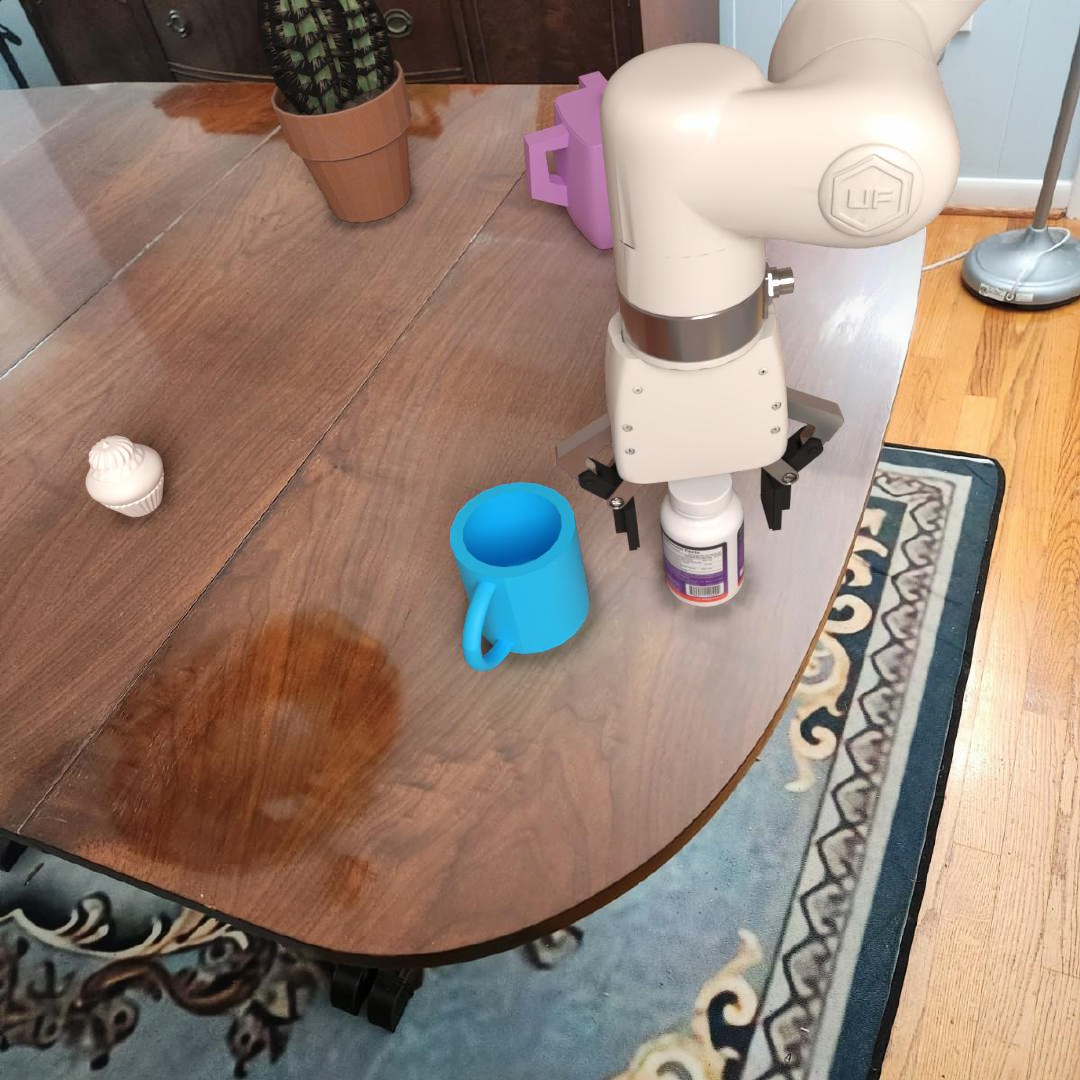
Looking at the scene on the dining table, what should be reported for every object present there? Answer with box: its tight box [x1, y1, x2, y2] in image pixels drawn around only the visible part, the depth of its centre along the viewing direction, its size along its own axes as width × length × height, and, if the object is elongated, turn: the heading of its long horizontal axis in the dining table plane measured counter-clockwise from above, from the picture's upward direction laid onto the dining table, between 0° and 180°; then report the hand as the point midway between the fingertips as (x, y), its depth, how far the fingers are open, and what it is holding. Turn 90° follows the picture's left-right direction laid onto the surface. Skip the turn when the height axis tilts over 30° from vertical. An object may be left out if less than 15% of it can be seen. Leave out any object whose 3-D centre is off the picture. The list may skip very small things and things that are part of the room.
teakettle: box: [522, 70, 614, 251], centre depth 98 cm, size 17×17×12 cm
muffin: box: [85, 434, 165, 518], centre depth 81 cm, size 6×6×7 cm
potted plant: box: [256, 0, 413, 224], centre depth 102 cm, size 14×14×25 cm
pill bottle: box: [659, 473, 745, 608], centre depth 66 cm, size 5×5×10 cm
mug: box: [449, 481, 591, 672], centre depth 66 cm, size 12×8×8 cm
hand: (700, 524), depth 65 cm, fingers open, 8 cm apart
